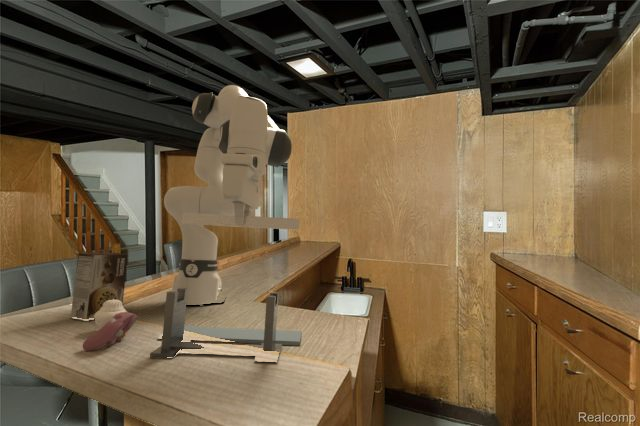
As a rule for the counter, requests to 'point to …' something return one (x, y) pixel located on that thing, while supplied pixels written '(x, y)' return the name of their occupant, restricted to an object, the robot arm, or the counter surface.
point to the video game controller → (110, 331)
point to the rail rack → (173, 344)
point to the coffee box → (98, 282)
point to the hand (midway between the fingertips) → (241, 225)
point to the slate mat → (247, 335)
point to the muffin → (108, 312)
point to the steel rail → (249, 221)
